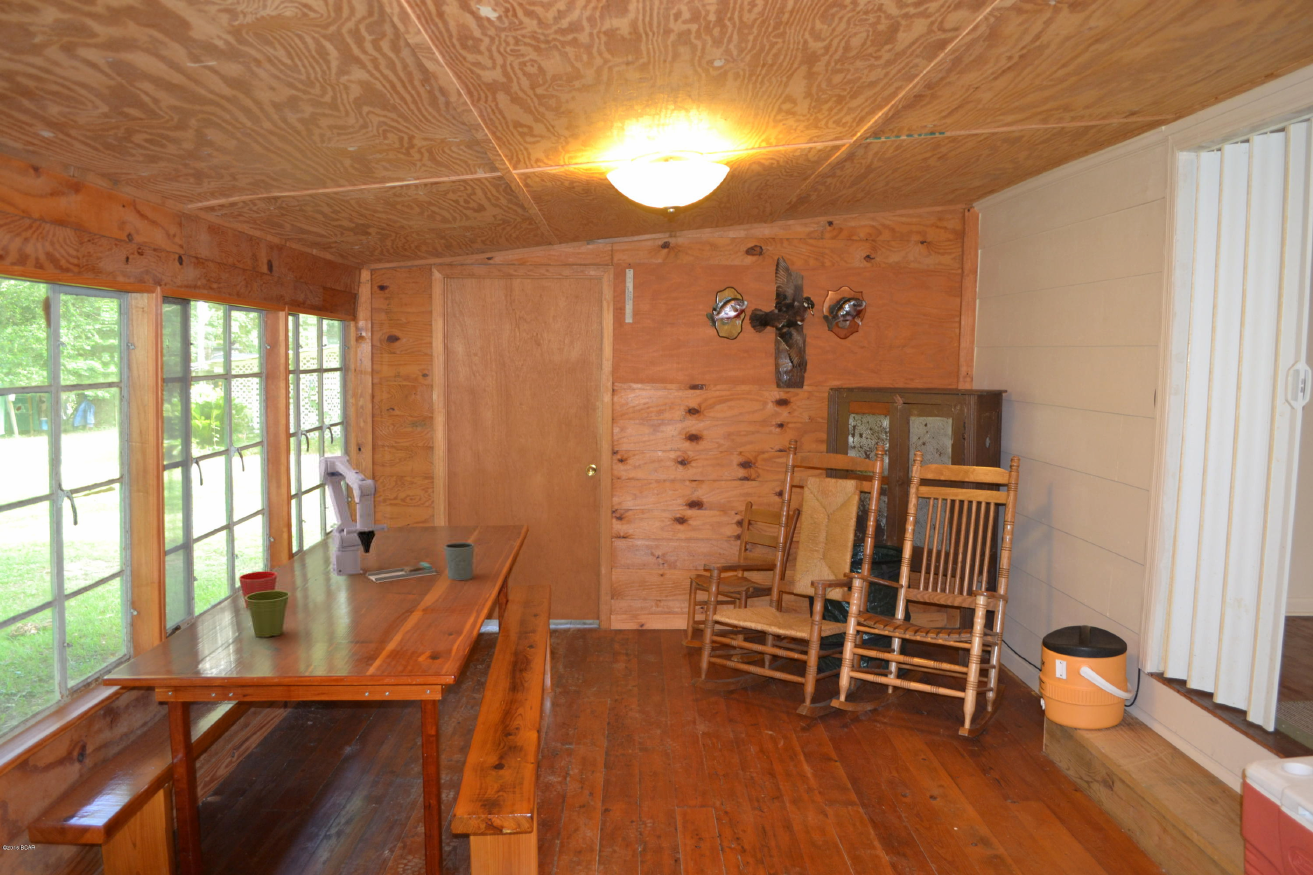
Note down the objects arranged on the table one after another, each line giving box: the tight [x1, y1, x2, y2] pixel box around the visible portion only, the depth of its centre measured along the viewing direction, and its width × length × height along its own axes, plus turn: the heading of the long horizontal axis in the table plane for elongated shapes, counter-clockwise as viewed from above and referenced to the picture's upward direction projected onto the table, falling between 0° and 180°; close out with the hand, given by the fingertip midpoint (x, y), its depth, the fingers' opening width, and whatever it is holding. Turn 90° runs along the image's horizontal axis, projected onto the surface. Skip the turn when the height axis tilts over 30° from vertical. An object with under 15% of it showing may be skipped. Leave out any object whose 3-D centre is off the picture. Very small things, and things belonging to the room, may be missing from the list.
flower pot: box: [238, 570, 278, 609], centre depth 279 cm, size 11×11×10 cm
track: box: [365, 561, 437, 583], centre depth 317 cm, size 22×12×3 cm, turn 126°
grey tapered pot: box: [444, 541, 475, 582], centre depth 314 cm, size 10×10×12 cm
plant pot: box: [244, 589, 291, 638], centre depth 250 cm, size 12×12×11 cm
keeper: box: [403, 564, 425, 573], centre depth 320 cm, size 6×5×2 cm
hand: (366, 552), depth 310 cm, fingers closed
